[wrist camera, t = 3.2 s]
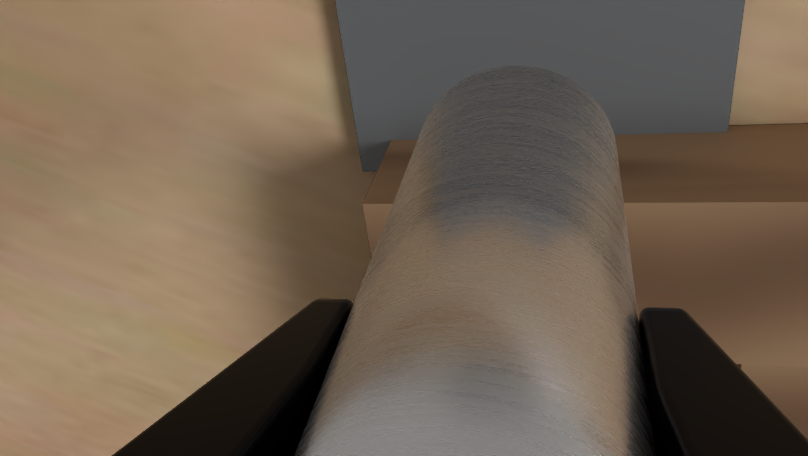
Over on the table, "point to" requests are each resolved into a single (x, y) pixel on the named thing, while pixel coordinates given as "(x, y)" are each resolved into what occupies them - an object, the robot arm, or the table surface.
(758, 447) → the robot arm
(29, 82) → the table surface
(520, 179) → the peg
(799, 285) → the hole block
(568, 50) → the panel
